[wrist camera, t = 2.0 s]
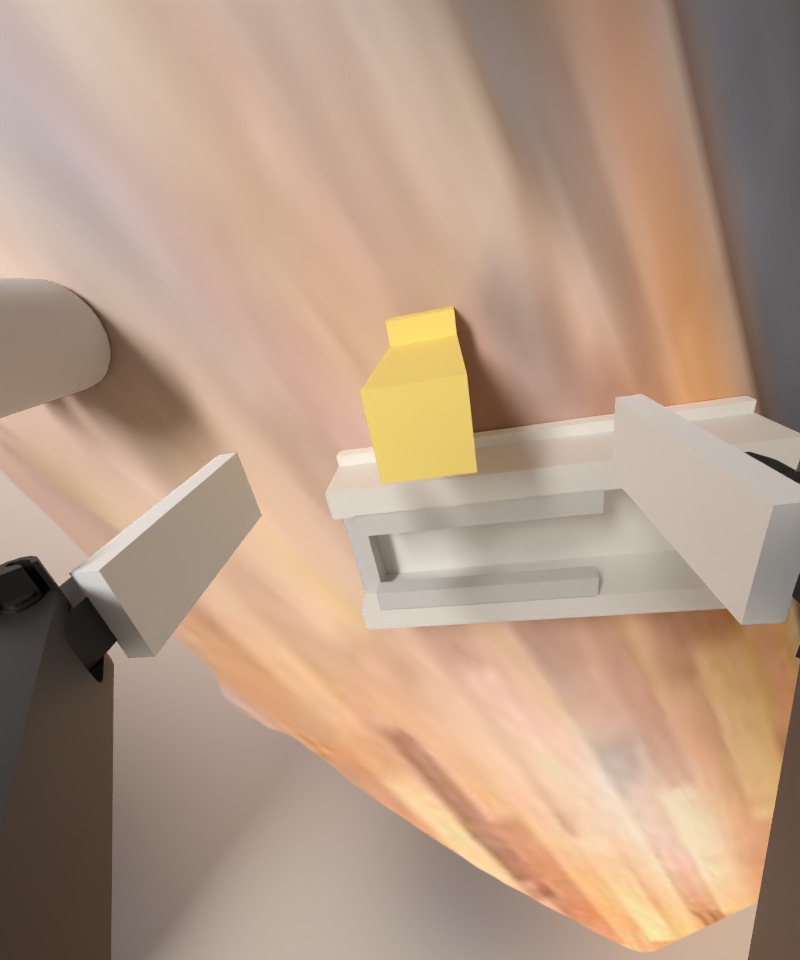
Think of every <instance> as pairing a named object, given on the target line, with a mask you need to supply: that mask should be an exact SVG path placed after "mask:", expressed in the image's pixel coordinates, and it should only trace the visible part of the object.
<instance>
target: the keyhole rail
mask: <svg viewBox="0 0 800 960" xmlns="http://www.w3.org/2000/svg"><path fill="white" fill-rule="evenodd" d="M756 401H757V400H755V399H753V398H751V397H748V396H746V395H745V396H738V397H731V398H723V399H716V400H709V401H701V402H694V403H687V404H680V405H672V406H665V407H666V408H667V409H669V410H671V411H672V412H674V413H676V414H678V415H679V416H681V417H683V418H685V419H686V420H688V421H690V422H692V423H693V424H695V425H697V426H699V427H700V428H702V429H704V430H706V431H707V432H709V433H711V434H713V435H714V436H716V437H718V438H720V439H721V440H723V441H725V442H727V443H728V444H730V445H732V446H734V447H735V448H737V449H739V450H741V451H742V452H753V453H756V454H759V455H763V456H766V457H770V458H773V459H776V460H778V461H780V462H782V463H783V464H785V465H787V466H789V467H791V468H793V469H795V470H796V469H797V466H798V463H799V460H800V433H798V432H796V431H794V430H792V429H789V428H787V427H785V426H783V425H780V424H778V423H776V422H774V421H772V420H769V419H767V418H765V417H763V416H761V415H758V414H756V413H754V410H755V405H756ZM614 418H615V413H614V414H607V415H600V416H592V417H585V418H578V419H570V420H563V421H556V422H549V423H541V424H534V425H527V426H519V427H512V428H505V429H498V430H490V431H483V432H476V433H473V437H474V446H475V455H476V465H477V472H476V473H467V474H459V475H451V476H442V477H434V478H426V479H418V480H409V481H401V482H393V483H385V484H381V479H380V475H379V471H378V467H377V462H376V458H375V454H374V449H373V447H367V448H359V449H352V450H345V451H339V453H338V455H337V456H336V458H337V461H338V465H339V468H338V470H337V471H336V473H335V475H334V477H333V479H332V481H331V483H330V485H329V487H328V489H327V491H326V493H325V496H326V499H327V502H328V505H329V509H330V512H331V515H332V518H333V520H334V519H343V521H344V524H345V527H346V531H347V534H348V537H349V541H350V544H351V548H352V551H353V554H354V558H355V561H356V564H357V568H358V571H359V574H360V578H361V581H362V585H363V588H364V591H365V597H364V602H363V606H362V610H361V612H362V615H363V618H364V621H365V625H366V628H367V630H368V629H385V628H403V627H420V626H437V625H454V624H471V623H489V622H506V621H523V620H540V619H558V618H575V617H592V616H609V615H626V614H644V613H661V612H678V611H695V610H713V609H727V608H726V607H725V606H724V605H723V604H722V602H721V601H720V600H719V599H718V598H717V597H716V596H715V594H714V593H713V592H712V591H711V590H710V589H709V587H708V586H707V585H706V584H705V583H704V582H703V581H702V579H701V578H700V577H699V576H698V575H697V574H696V572H695V571H694V570H693V569H692V568H691V567H690V566H689V564H688V563H687V562H686V561H685V560H684V559H683V557H682V556H681V555H680V554H679V553H678V552H677V551H676V549H675V548H674V547H673V546H672V545H671V544H670V543H669V541H668V540H667V539H666V538H665V537H664V536H663V534H662V533H661V532H660V531H659V530H658V529H657V528H656V526H655V525H654V524H653V523H652V522H651V521H650V519H649V518H648V517H647V516H646V515H645V514H644V513H643V511H642V510H641V509H640V508H639V507H638V506H637V505H636V503H635V502H634V501H633V500H632V499H631V498H630V496H629V495H628V494H627V493H626V492H625V491H624V490H623V488H622V487H621V486H620V485H619V484H618V483H617V481H616V480H615V479H614V478H613V477H612V476H611V469H612V452H613V435H614Z"/></svg>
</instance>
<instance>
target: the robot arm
mask: <svg viewBox="0 0 800 960" xmlns="http://www.w3.org/2000/svg"><path fill="white" fill-rule="evenodd" d="M611 476H612V477H613V478H614V479H615V480H616V481H617V483H618V484H619V485H620V486H621V487H622V488H623V490H624V491H625V492H626V493H627V494H628V495H629V496H630V498H631V499H632V500H633V501H634V502H635V503H636V505H637V506H638V507H639V508H640V509H641V510H642V511H643V513H644V514H645V515H646V516H647V517H648V518H649V519H650V521H651V522H652V523H653V524H654V525H655V526H656V528H657V529H658V530H659V531H660V532H661V533H662V534H663V536H664V537H665V538H666V539H667V540H668V541H669V543H670V544H671V545H672V546H673V547H674V548H675V549H676V551H677V552H678V553H679V554H680V555H681V556H682V557H683V559H684V560H685V561H686V562H687V563H688V564H689V566H690V567H691V568H692V569H693V570H694V571H695V572H696V574H697V575H698V576H699V577H700V578H701V579H702V581H703V582H704V583H705V584H706V585H707V586H708V587H709V589H710V590H711V591H712V592H713V593H714V594H715V596H716V597H717V598H718V599H719V600H720V601H721V602H722V604H723V605H724V606H725V607H726V608H727V609H728V610H729V612H730V613H731V614H732V615H733V616H734V617H735V619H736V620H737V621H738V622H739V623H740V624H741V625H749V624H768V623H785V622H786V619H787V616H788V613H789V610H790V607H791V604H792V602H793V599H796V600H797V601H798V602H799V603H800V472H795V469H793V468H791V467H789V466H787V465H785V464H783V463H782V462H780V461H778V460H776V459H773V458H770V457H766V456H763V455H759V454H756V453H753V452H742V451H741V450H739V449H737V448H735V447H734V446H732V445H730V444H728V443H727V442H725V441H723V440H721V439H720V438H718V437H716V436H714V435H713V434H711V433H709V432H707V431H706V430H704V429H702V428H700V427H699V426H697V425H695V424H693V423H692V422H690V421H688V420H686V419H685V418H683V417H681V416H679V415H678V414H676V413H674V412H672V411H671V410H669V409H667V408H666V407H664V406H662V405H660V404H659V403H657V402H655V401H653V400H652V399H650V398H648V397H646V396H645V395H643V394H638V395H631V396H624V397H617V398H616V401H615V418H614V435H613V452H612V469H611ZM261 516H262V515H261V512H260V510H259V507H258V505H257V502H256V500H255V497H254V495H253V492H252V490H251V487H250V485H249V482H248V479H247V477H246V474H245V472H244V469H243V467H242V464H241V462H240V459H239V457H238V454H237V453H230V454H223V455H218V456H216V457H215V458H214V459H213V460H211V461H210V462H209V463H208V464H206V465H205V466H204V467H203V468H201V469H200V470H199V471H198V472H196V473H195V474H194V475H193V476H191V477H190V478H189V479H187V480H186V481H185V482H184V483H182V484H181V485H180V486H179V487H177V488H176V489H175V490H174V491H172V492H171V493H170V494H169V495H167V496H166V497H165V498H164V499H162V500H161V501H160V502H159V503H157V504H156V505H155V506H153V507H152V508H151V509H150V510H148V511H147V512H146V513H145V514H143V515H142V516H141V517H140V518H138V519H137V520H136V521H135V522H133V523H132V524H131V525H130V526H128V527H127V528H126V529H125V530H123V531H122V532H121V533H119V534H118V535H117V536H116V537H114V538H113V539H112V540H111V541H109V542H108V543H107V544H106V545H104V546H103V547H102V548H101V549H99V550H98V551H97V552H96V553H94V554H93V555H92V556H90V557H89V558H88V559H87V560H85V561H84V562H83V563H82V564H81V565H79V566H78V567H77V568H75V569H74V570H73V571H72V572H71V573H69V574H70V575H71V576H72V577H71V578H70V579H68V580H67V581H66V582H65V583H63V584H62V585H61V586H60V587H59V586H58V585H57V584H56V582H55V581H54V579H53V578H52V577H51V575H50V574H49V573H48V571H47V570H46V569H45V567H44V566H43V564H42V563H41V562H40V560H39V559H38V558H37V557H35V556H28V557H21V558H18V559H15V560H12V561H9V562H6V563H4V564H2V565H0V960H111V900H112V899H111V897H112V895H111V894H112V791H113V789H112V788H113V787H112V786H113V685H114V684H113V683H114V681H113V679H114V664H113V661H112V659H111V658H110V656H109V655H108V654H107V651H108V650H109V649H110V648H111V647H112V646H113V644H114V643H115V642H116V641H117V642H118V644H119V645H120V646H121V648H122V649H123V651H124V652H125V654H126V655H127V656H128V658H136V657H154V656H156V654H157V653H158V652H159V650H160V649H161V648H162V647H163V645H164V644H165V643H166V641H167V640H168V639H169V637H170V636H171V635H172V633H173V632H174V631H175V629H176V628H177V627H178V625H179V624H180V623H181V621H182V620H183V619H184V617H185V616H186V615H187V613H188V612H189V611H190V609H191V608H192V607H193V606H194V604H195V603H196V602H197V600H198V599H199V598H200V596H201V595H202V594H203V592H204V591H205V590H206V588H207V587H208V586H209V584H210V583H211V582H212V580H213V579H214V578H215V576H216V575H217V574H218V572H219V571H220V570H221V568H222V567H223V566H224V564H225V563H226V562H227V561H228V559H229V558H230V557H231V555H232V554H233V553H234V551H235V550H236V549H237V547H238V546H239V545H240V543H241V542H242V541H243V539H244V538H245V537H246V535H247V534H248V533H249V531H250V530H251V529H252V527H253V526H254V525H255V523H256V522H257V521H258V519H259V518H260V517H261ZM796 657H797V658H800V646H799V649H798V651H797V654H796ZM748 960H800V666H799V671H798V677H797V683H796V688H795V694H794V700H793V706H792V711H791V717H790V723H789V728H788V734H787V740H786V745H785V751H784V757H783V763H782V768H781V774H780V780H779V785H778V791H777V797H776V802H775V808H774V814H773V820H772V825H771V831H770V837H769V842H768V848H767V854H766V859H765V865H764V871H763V877H762V882H761V888H760V894H759V899H758V905H757V911H756V917H755V922H754V928H753V934H752V939H751V945H750V951H749V956H748Z"/></svg>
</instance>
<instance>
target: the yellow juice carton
mask: <svg viewBox="0 0 800 960" xmlns="http://www.w3.org/2000/svg"><path fill="white" fill-rule="evenodd" d="M386 328H387V333H388V338H389V343H390V347H389V349H388V350H387V352H386V353H385V355H384V356H383V358H382V359H381V361H380V362H379V364H378V365H377V367H376V368H375V370H374V371H373V373H372V374H371V376H370V377H369V379H368V380H367V382H366V383H365V385H364V386H363V388H362V389H361V391H360V393H361V398H362V402H363V406H364V411H365V415H366V419H367V424H368V428H369V432H370V436H371V441H372V445H373V449H374V454H375V458H376V462H377V467H378V471H379V475H380V479H381V484H385V483H393V482H401V481H409V480H418V479H426V478H434V477H442V476H451V475H459V474H467V473H476V472H477V465H476V455H475V446H474V437H473V427H472V418H471V408H470V399H469V389H468V380H467V373H466V369H465V365H464V361H463V357H462V353H461V349H460V345H459V341H458V337H457V331H456V323H455V314H454V308H453V306H451V307H446V308H441V309H435V310H430V311H425V312H420V313H414V314H409V315H404V316H399V317H394V318H389V319H388V320H387V321H386Z"/></svg>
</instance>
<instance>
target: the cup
mask: <svg viewBox="0 0 800 960" xmlns="http://www.w3.org/2000/svg"><path fill="white" fill-rule="evenodd" d="M110 360H111V348H110V343H109V340H108V336H107V333H106V331H105V329H104V327H103V325H102V323H101V321H100V319H99V318H98V317H97V315H96V314H95V313H94V312H93V310H92V309H91V308H90V307H89V306H88V305H87V304H86V303H85V302H84V301H83V300H82V299H81V298H79V297H78V296H77V295H76V294H74V293H73V292H71V291H69V290H68V289H66V288H64V287H63V286H61V285H59V284H56V283H53V282H50V281H48V280H41V279H26V278H4V279H0V418H2V417H5V416H8V415H11V414H14V413H17V412H20V411H23V410H26V409H29V408H32V407H35V406H38V405H41V404H44V403H47V402H50V401H53V400H56V399H59V398H62V397H65V396H68V395H71V394H74V393H77V392H80V391H83V390H86V389H88V388H90V387H92V386H94V385H96V384H97V383H99V382H100V381H101V380H102V379H103V378H104V376H105V375H106V373H107V371H108V367H109V364H110Z"/></svg>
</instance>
